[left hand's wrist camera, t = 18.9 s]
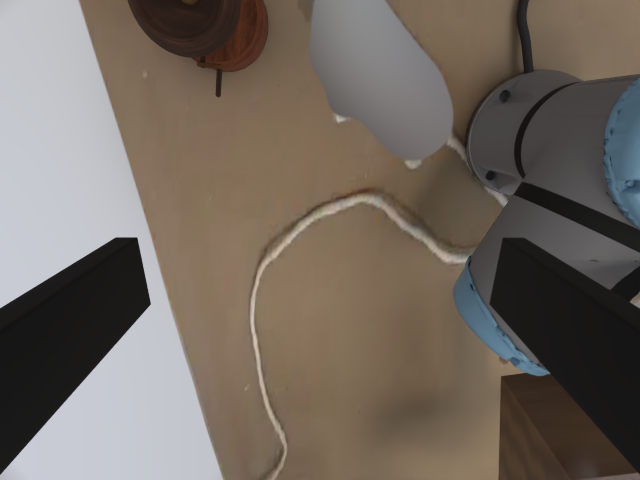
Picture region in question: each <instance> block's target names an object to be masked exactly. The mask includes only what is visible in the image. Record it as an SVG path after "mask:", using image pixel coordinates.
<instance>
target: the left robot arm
mask: <svg viewBox="0 0 640 480" xmlns="http://www.w3.org/2000/svg"><path fill="white" fill-rule="evenodd" d="M528 1H529V0H520V1H519V6H518V12H517V24H518V30H519V34H520V39H521V45H522V55H523V64H524V73H521V74H518V75H515V76H513V77H511V78H509V79H507V80H505V81H503V82H501V83H500V84H499V85H497V86H496V87H495V88H493V89H492V90H491V91H490V92H489V93H488V94H487V95H486V96H485V97H484V98H483V100H482V101H481V102H480V104H479V105H478V106H477V108H476V110H475V112H474V113H473V116H472V118H471V120H470V123H469V126H468V129H467V134H466V143H465V148H466V156H467V160H468V163H469V166H470V168H471V170H472V172H473V173H474V175H475V176H476V177H477V178H478V180H479V181H480V182H482V183H483V184H484V185H486V186H487V187H489V188H491V189H493V190H495V191H497V192H500V193H503V194H507V195H512V197H511V198H510V200H509V201H508V203H507V204H506V206H505V207H504V209H503V210H502V212H501V213H500V215H499V216H498V218H497V219H496V220H495V222H494V223H493V225H492V226H491V228H490V229H489V231H488V232H487V234H486V235H485V237H484V238H483V240H482V241H481V243H480V244H479V246H478V247H477V249H476V250H475V251H474V253H473V254H472V255H471V256H469V258H468V259H467V261H466V266H465V268H464V270H463V271H462V273H461V275H460V277H459V278H458V280H457V282H456V283H455V286H454V290H453V294H454V299H455V305H456V307H457V309H458V311H459V313H460V315H461V316H462V318H463V319H464V321H465V322H466V324H467V325H468V326H469V327H470V329H471V330H472V331H473V332H474V333H475V334H476V335H477V336H478V337H479V338H480V339H481V340H482V341H483V342H484V343H485V344H486V345H487V346H488V347H489V348H490V349H491V350H492V351H494V352H495V353H496V354H497V355H499V356H500V357H501V358H503V359H504V360H509V361H510V362H511V363H512V364H513V365H514V366H515V367H516V368H518V369H520V370H522V371H524V372H526V373H528V374H532V375H535V376H544V375H546V374H551V375H552V376H553V377H554V378H555V379H556V380H557V382H558V383H559V384H560V385H561V386H562V387H563V388H564V390H565V391H566V392H567V393H568V394H569V395H570V396H571V397H572V399H573V400H574V401H575V402H576V403H577V404H578V405H579V407H580V408H581V409H582V410H583V411H584V412H585V413H586V414H587V416H588V417H589V418H590V419H591V420H592V421H593V422H594V424H595V425H596V426H597V427H598V428H599V429H600V430H601V431H602V433H603V434H604V435H605V436H606V437H607V438H608V439H609V441H610V442H611V443H612V444H613V445H614V446H615V447H616V448H617V450H618V451H619V452H620V453H621V454H622V455H623V456H624V457H625V459H626V460H627V461H628V462H629V463H630V464H631V465H632V467H633V468H634V469H635V470H636V471H637V472H638V473H639V474H640V74H636V75H628V76H621V77H613V78H605V79H598V80H590V81H583V80H580V79H578V78H576V77H574V76H571V75H569V74H567V73H564V72H560V71H553V70H536V71H533V61H532V51H531V41H530V35H529V30H528V26H527V19H526V12H527V6H528ZM150 305H151V303H150V298H149V293H148V288H147V283H146V278H145V273H144V268H143V263H142V258H141V254H140V249H139V244H138V239H137V238H114V239H113V240H111V241H109V242H108V243H106V244H105V245H103V246H101V247H100V248H98V249H96V250H95V251H93V252H91V253H90V254H88V255H87V256H85V257H83V258H82V259H80V260H79V261H77V262H75V263H74V264H72V265H70V266H69V267H67V268H65V269H64V270H62V271H60V272H59V273H57V274H56V275H54V276H52V277H51V278H49V279H47V280H46V281H44V282H43V283H41V284H39V285H38V286H36V287H34V288H33V289H31V290H29V291H28V292H26V293H25V294H23V295H21V296H20V297H18V298H16V299H15V300H13V301H11V302H10V303H8V304H7V305H5V306H3V307H2V308H0V474H1V473H2V472H3V471H4V470H5V469H6V468H7V467H8V465H9V464H10V463H11V462H12V461H13V460H14V459H15V457H16V456H17V455H18V454H19V453H20V452H21V451H22V450H23V448H24V447H25V446H26V445H27V444H28V443H29V442H30V441H31V439H32V438H33V437H34V436H35V435H36V434H37V432H38V431H39V430H40V429H41V428H42V427H43V426H44V425H45V423H46V422H47V421H48V420H49V419H50V418H51V417H52V416H53V414H54V413H55V412H56V411H57V410H58V409H59V408H60V407H61V405H62V404H63V403H64V402H65V401H66V400H67V399H68V397H69V396H70V395H71V394H72V393H73V392H74V391H75V390H76V388H77V387H78V386H79V385H80V384H81V383H82V382H83V380H84V379H85V378H86V377H87V376H88V375H89V374H90V373H91V371H92V370H93V369H94V368H95V367H96V366H97V365H98V363H99V362H100V361H101V360H102V359H103V358H104V357H105V356H106V354H107V353H108V352H109V351H110V350H111V349H112V348H113V346H114V345H115V344H116V343H117V342H118V341H119V340H120V339H121V337H122V336H123V335H124V334H125V333H126V332H127V331H128V329H129V328H130V327H131V326H132V325H133V324H134V323H135V322H136V320H137V319H138V318H139V317H140V316H141V315H142V314H143V313H144V311H145V310H146V309H147V308H148V307H149V306H150Z"/></svg>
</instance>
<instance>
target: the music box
mask: <svg viewBox="0 0 640 480" xmlns="http://www.w3.org/2000/svg"><path fill="white" fill-rule="evenodd" d="M128 3H129V6H130V8H131V11H132V13H133V15H134V17H135V19H136V21H137V22H138V24H139V25H140V27H141V28H142V29H143V31H144V32H145V33H146V34H147V35H148V36H149V37H150V38H151V39H152V40H153V41H154V42H155V43H156V44H158V45H159V46H160V47H162V48H163V49H165V50H167V51H169V52H171V53H173V54H176V55H179V56H183V57H191V58H192V59H194V60H195V61H197V62H198V64H197V65H198V66H200V67H202V68H212V69H214V70H217V78H216V96H217V97H220V96H221V80H222V71H223V72H233V71H238V70H241V69H244V68H246V67H247V66H249V65H250V64H252V63H253V62H254V61H255V60H256V59H257V58H258V56H259V55H260V53H261V52H262V50H263V48H264V45H265V43H266V39H267V35H268V16H267V11H266V7H265V4H264V2H263V0H128Z"/></svg>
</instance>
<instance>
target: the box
mask: <svg viewBox="0 0 640 480" xmlns="http://www.w3.org/2000/svg"><path fill="white" fill-rule="evenodd" d="M499 480H640V474H639V473H638V472H637V471H636V470H635V469H634V468H633V467H632V465H631V464H630V463H629V462H628V461H627V460H626V459H625V457H624V456H623V455H622V454H621V453H620V452H619V451H618V450H617V448H616V447H615V446H614V445H613V444H612V443H611V442H610V441H609V439H608V438H607V437H606V436H605V435H604V434H603V433H602V431H601V430H600V429H599V428H598V427H597V426H596V425H595V424H594V422H593V421H592V420H591V419H590V418H589V417H588V416H587V414H586V413H585V412H584V411H583V410H582V409H581V408H580V407H579V405H578V404H577V403H576V402H575V401H574V400H573V399H572V397H571V396H570V395H569V394H568V393H567V392H566V391H565V390H564V388H563V387H562V386H561V385H560V384H559V383H558V382H557V380H556V379H555V378H554V377H553V376H552V375H551V374H546V375H544V376H535V375H532V374H528V373H522V374H515V375H507V376H501V402H500V443H499Z"/></svg>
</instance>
